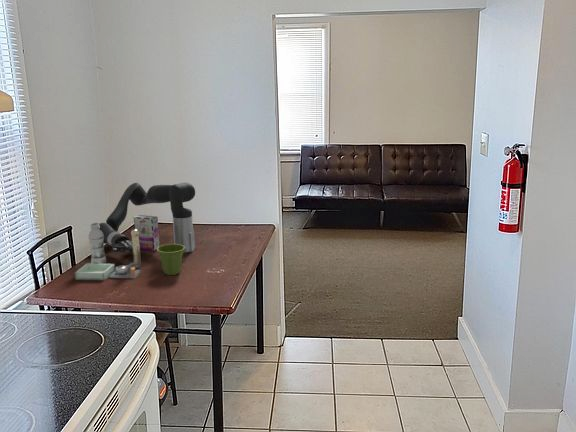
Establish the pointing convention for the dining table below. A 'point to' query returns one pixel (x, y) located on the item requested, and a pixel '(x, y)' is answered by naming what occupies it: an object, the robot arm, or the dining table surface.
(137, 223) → the candy bar box
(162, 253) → the plant pot
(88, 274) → the tray
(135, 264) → the beige silver l-shaped piece
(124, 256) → the dining table surface
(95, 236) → the plastic bottle
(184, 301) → the dining table surface
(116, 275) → the base
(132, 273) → the stop block
